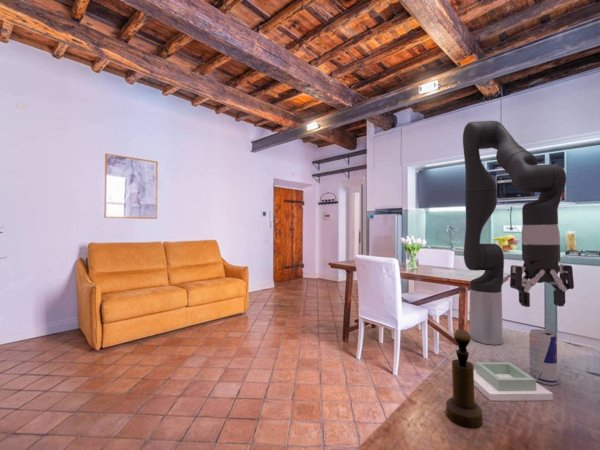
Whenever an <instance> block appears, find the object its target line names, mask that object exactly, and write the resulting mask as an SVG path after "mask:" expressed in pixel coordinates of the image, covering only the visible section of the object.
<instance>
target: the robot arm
mask: <svg viewBox="0 0 600 450" xmlns="http://www.w3.org/2000/svg"><path fill="white" fill-rule="evenodd" d="M462 146H463V147H462V148H463V156H464V167H465V169H464V170H465V185H464V186H465V189H464V195H465V196H464V197H465V199H464V201H465V233H464V246H463V261H464V265H465V267H466V268H467V269H468V270H469V271H484V272H483V274H481V275H480V276H479V277H476V278H473V279H471V280H470V282H469V297H470V299H469V301H470V302H469V305H470V308H469V334H470V333H471V335H470V337H471V339H472V340H473V341H476V342H477V343H481V344H486V345H494V346H497V345H503V342H504V340H503V339H504V338H503V291H502V290H503V288H502V287H503V285H504V273H505V271H504V269H505V268H504V267H505V256H504V251H503V249H502V247H501V246H500V245H499V244H497V243H481V237H482V236H481V235H482V231H483V229H484V227H485V225H486V223H488V221H489V220H490V218H491V217H492V215H493V213H494V212H495V210H496V207H497V204H498V203H497V202H498V199H497V198H498V197H497V195H498V194H497V192H498V191H497V185H496V182H495V180H494V179H493V177H492V176H491V174H490V173H489V171H488V170H487V169H486V167H485V166H484V164H483V163H482V162H483V161H482V159H481V154H480V150H486V149H487V150H488V149H494V150H497V151H496V155H495V158H496V161H497V163H498V165H499V166H500V167H501V168H502V169H503V170H505V172H507V173H508V176H509V178H510V181H511V183H512V185H513V187H514V189H516V190H517V191H519V192H522V193H528V194H531V193H540V194H539V196H538V198H537V200H535V201H531V202H526V203H525V204H523V206H522V208H521V213H522V214H521V216H522V217H521V218H522V221H521V222H522V229H521V259H522V260H523V265H516V264H514V265H513V264H512V265H510V272H509V273H510V274H509V287H510V288H511V289H515V290H517V292H518V303H519V304H520V305H521V307H524V308H530V307H531V301H530V300H531V295H530V292H529V291H531V289H532V287H534V286H535V285H536V284H543V283H548V284H550V285H551V287H552V288H553V289H554V290H552V292H553V305H554V306H557V307H564V306H565V304H566V292H567V291H568V290H573V289H574V288H575V284H574V283H575V282H574V274H573V273H574V272H573V266H572V265H569V264H562V263H561V264H559V262H560V261H561V233H560V229H559V214H558V213H559V211H558V210H559V206H560V202H561V198H562V195H563V193H564V189H565V187H566V183H567V173H566V171H565V170H564V168H563V167H561V166H560V165H558V164H538V159H537V157H536V156H535V155H534V154H533V153H531V152H530V151H528V150H527V149H526V148H524V147H522V146H521V145H520V144H519V143H518V142H517V141H516V139H514V137H513V136H512V135H511V133H510V132H509V131H508V129H507V128H506V127H505V126H504V125H503V124H502V123H501V122H500V121H498V120H480V121H471V122H470V121H469V122H467V124H465V126H464V129H463V132H462ZM558 274H559V275H558Z"/></svg>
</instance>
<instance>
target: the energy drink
mask: <svg viewBox="0 0 600 450" xmlns="http://www.w3.org/2000/svg"><path fill="white" fill-rule="evenodd" d="M528 336H529V341H528V342H529V375H530V376H531V377H533V378H534V379H536V383H538V384H539V383H540V384H543V385H545V386H546V385H547V386H555V385H557V384H558V382H559V379H558V373H559V371H558V341H557V340H558V338H557V336H556V334H555V333H553V332H552V331H548V330H543V329H531V330H530V332H529V334H528Z"/></svg>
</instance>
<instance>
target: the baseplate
mask: <svg viewBox="0 0 600 450" xmlns="http://www.w3.org/2000/svg"><path fill="white" fill-rule="evenodd" d="M474 388H476V389H477V390H478V391H479V392H480V393H481V394H482V395H484V396H485V398H487V399H488V401H490V402H492V401H493V402H495V401H498V402H499V401H500V402H501V401H502V402H503V401H506V402H509V401H512V402H514V401H522V402H523V401H554V393H553V392H551V391H550V390H548V389H547V388H546V387H544V386H542V385H541V384H539V382H537V381H536V379H534V378H533V377H531V376H530V374H528V373H527V372H525V371H524V370H522V369H521V368H519V367H518V366H516V365H514V364H513V363H511V362H510V361H506V362H505V361H503V362H501V361H498V362H497V361H496V362H492V361H491V362H490V361H489V362H488V361H487V362H486V361H485V362H483V361H482V362H479V361H478V362H477V361H476V362H475V369H474Z"/></svg>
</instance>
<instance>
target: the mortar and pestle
mask: <svg viewBox="0 0 600 450" xmlns="http://www.w3.org/2000/svg"><path fill="white" fill-rule="evenodd" d="M453 339H454V341H455V342H456V345H457V346H458V349H456V350H455V351H456V353H455V354H456V357H457V359H456V358H455V359H452V360H451V373H452V374H451V375H452V376H451V378H452V381H451V382H452V396H451V397H449V398H448V399H447V400H446V404H445V408H446V409H445V412H446V416H447V417H448V419H449V420H450V421H452V422H453V423H455V424H457V425H459V426H461V427H464V428H471V429H472V428H479V427H480V426H482V424H483V410H482V408H481V406H480V405H478V404H477V402H476V401H475V386H474V370H475V369H474V367H475V366H474V364H473V363H472V362H470V361H468V359H469V353H470V352H469V351H468V350H467V347H468V345H469V343H470V342H471V339H472V338H471V335H470V332H468V331H467V330H465V329H456V330H455V331H454V333H453Z"/></svg>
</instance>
